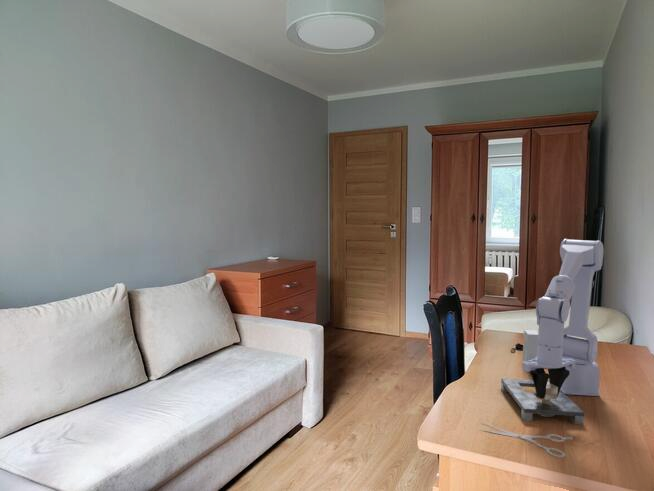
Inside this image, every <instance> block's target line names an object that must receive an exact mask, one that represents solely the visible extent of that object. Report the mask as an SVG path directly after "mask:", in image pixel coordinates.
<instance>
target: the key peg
mask: <svg viewBox="0 0 654 491" xmlns="http://www.w3.org/2000/svg"><path fill="white" fill-rule="evenodd" d="M557 393H558V387H557V386H555V385H553V384H551V383H549V382H547V385H546V393H545V397H544V398H543V399H542V398H541V403H542V404H550V399H557ZM536 414H538V413H536ZM538 415H539V416H541V417H544V418H553V417H555V415H554V414H538Z"/></svg>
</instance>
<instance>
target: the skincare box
mask: <svg viewBox="0 0 654 491" xmlns="http://www.w3.org/2000/svg"><path fill="white" fill-rule="evenodd" d="M522 342H523V344H522V345H523V350H522V360H521V361H522V362H526V361H529V360H533V359H535V357H536V356H537V348H538V331H537V330H532V329H524V330H523V341H522Z"/></svg>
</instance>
